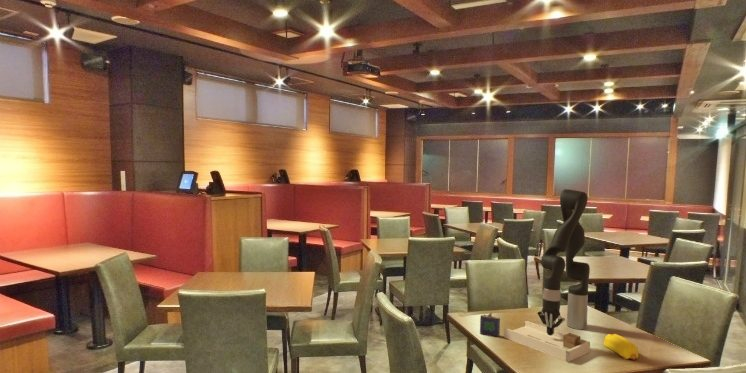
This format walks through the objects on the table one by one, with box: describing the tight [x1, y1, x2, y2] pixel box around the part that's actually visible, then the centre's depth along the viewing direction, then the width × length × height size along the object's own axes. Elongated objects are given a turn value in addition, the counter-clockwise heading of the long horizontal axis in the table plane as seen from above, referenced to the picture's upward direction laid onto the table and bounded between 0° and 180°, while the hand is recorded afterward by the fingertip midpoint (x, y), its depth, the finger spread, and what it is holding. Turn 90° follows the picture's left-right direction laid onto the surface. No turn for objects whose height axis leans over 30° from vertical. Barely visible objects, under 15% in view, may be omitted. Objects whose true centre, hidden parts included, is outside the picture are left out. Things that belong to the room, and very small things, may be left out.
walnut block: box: [563, 332, 582, 349], centre depth 195 cm, size 5×5×5 cm
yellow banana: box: [603, 333, 639, 360], centre depth 195 cm, size 18×7×8 cm
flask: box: [479, 312, 501, 337], centre depth 213 cm, size 9×3×11 cm, turn 68°
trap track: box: [503, 320, 591, 363], centre depth 202 cm, size 18×32×4 cm, turn 37°
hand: (550, 334), depth 204 cm, fingers closed
